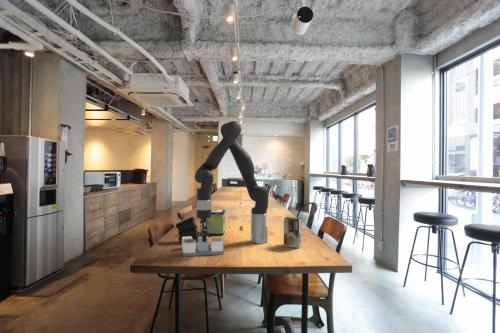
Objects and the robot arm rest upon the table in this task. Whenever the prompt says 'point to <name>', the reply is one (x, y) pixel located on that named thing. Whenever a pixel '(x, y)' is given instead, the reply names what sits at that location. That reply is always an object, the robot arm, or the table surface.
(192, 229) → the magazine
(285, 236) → the coffee box
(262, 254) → the table surface
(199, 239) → the block
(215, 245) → the grey notched bar
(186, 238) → the block
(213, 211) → the protein box
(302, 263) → the table surface
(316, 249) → the table surface
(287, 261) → the table surface
